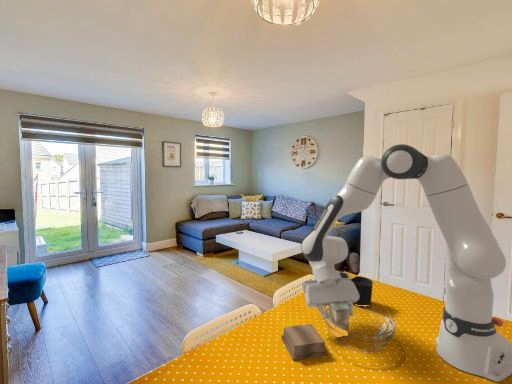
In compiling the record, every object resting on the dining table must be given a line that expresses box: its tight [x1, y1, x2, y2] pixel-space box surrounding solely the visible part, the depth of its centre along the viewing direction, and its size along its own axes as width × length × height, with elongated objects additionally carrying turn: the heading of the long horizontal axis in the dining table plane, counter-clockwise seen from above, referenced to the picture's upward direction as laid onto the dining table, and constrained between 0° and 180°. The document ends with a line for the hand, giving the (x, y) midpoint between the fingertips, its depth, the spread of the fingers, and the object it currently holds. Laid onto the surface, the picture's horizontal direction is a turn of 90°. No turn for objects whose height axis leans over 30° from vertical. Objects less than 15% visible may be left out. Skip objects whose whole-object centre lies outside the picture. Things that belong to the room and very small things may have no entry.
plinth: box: [280, 323, 328, 361], centre depth 86 cm, size 11×11×4 cm
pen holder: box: [349, 275, 374, 306], centre depth 115 cm, size 9×9×10 cm
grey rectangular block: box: [327, 302, 350, 339], centre depth 93 cm, size 5×5×10 cm
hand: (338, 317), depth 93 cm, fingers open, 8 cm apart
